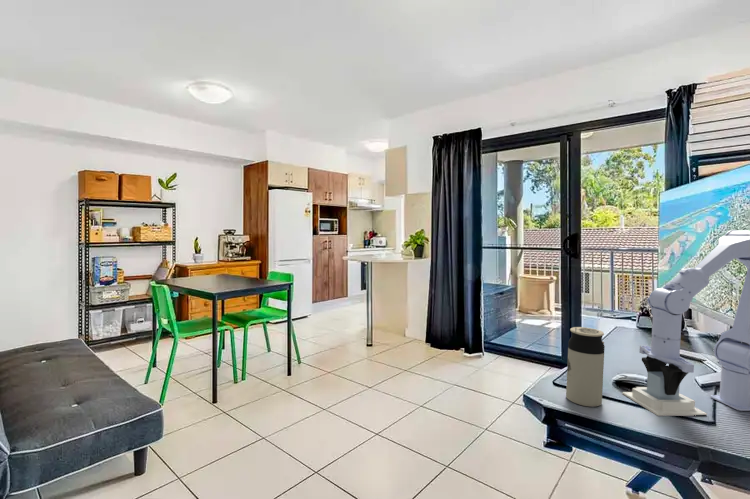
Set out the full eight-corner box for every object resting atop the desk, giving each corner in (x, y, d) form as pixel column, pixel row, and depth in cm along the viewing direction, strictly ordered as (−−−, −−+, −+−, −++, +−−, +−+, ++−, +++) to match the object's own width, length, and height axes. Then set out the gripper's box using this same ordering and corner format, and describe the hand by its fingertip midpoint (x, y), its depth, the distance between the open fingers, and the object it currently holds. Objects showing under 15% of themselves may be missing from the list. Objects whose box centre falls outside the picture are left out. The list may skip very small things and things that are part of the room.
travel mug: (603, 399, 97) (606, 330, 96) (599, 410, 91) (603, 336, 90) (569, 391, 102) (572, 325, 101) (563, 401, 96) (566, 330, 95)
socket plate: (665, 393, 101) (666, 384, 101) (706, 415, 89) (707, 405, 89) (622, 393, 101) (622, 384, 101) (657, 415, 89) (658, 405, 89)
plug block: (665, 394, 97) (666, 371, 97) (678, 401, 93) (679, 377, 93) (646, 394, 97) (647, 371, 97) (658, 401, 93) (660, 377, 93)
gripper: (629, 329, 101) (626, 379, 102) (674, 345, 87) (671, 403, 88) (655, 329, 102) (652, 379, 102) (704, 345, 87) (700, 403, 88)
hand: (662, 390), depth 95 cm, fingers closed on plug block, 4 cm apart
